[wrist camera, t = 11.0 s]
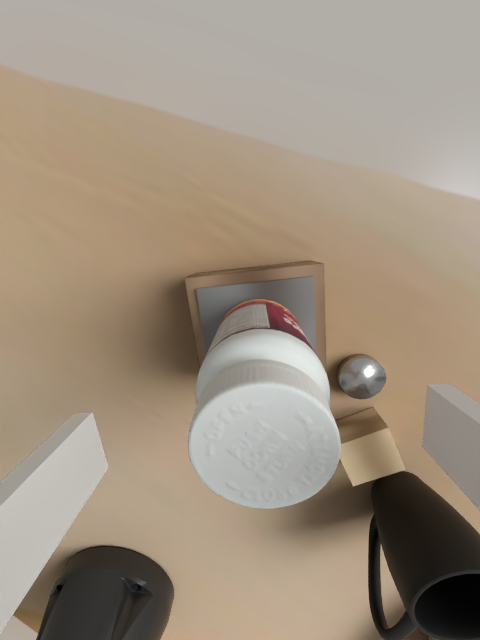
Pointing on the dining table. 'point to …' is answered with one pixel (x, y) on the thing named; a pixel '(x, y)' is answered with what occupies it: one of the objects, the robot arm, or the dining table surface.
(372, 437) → the oak offcut
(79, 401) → the dining table surface
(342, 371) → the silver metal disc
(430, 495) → the mug
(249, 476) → the pill bottle
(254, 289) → the walnut stand
